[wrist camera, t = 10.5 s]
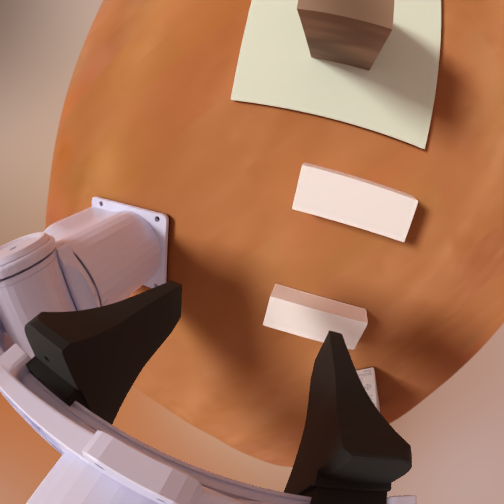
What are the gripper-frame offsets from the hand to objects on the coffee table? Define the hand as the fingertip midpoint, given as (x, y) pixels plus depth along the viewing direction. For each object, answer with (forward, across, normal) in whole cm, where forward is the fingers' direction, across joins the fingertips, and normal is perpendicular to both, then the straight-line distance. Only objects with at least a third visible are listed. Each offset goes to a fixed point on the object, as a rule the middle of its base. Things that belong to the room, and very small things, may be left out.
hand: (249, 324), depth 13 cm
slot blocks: (+10, -4, 0) cm, 11 cm away
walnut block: (+10, -1, -17) cm, 19 cm away
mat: (+10, -1, -17) cm, 20 cm away
